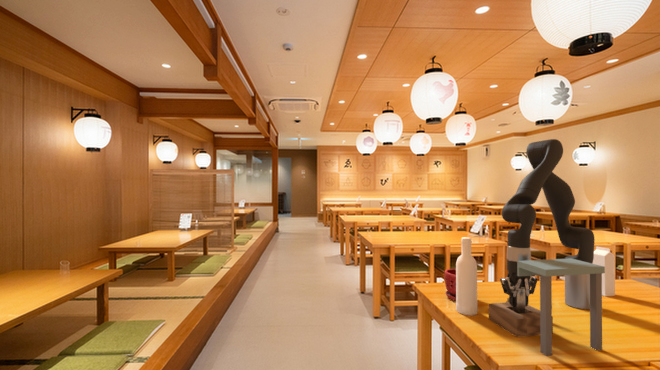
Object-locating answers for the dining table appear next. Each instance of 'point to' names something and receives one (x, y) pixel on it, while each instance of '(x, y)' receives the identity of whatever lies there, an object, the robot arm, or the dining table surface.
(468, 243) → the bottle
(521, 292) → the peg
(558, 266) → the small grey stool
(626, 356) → the dining table surface
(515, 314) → the socket block
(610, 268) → the milk
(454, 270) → the plant pot
